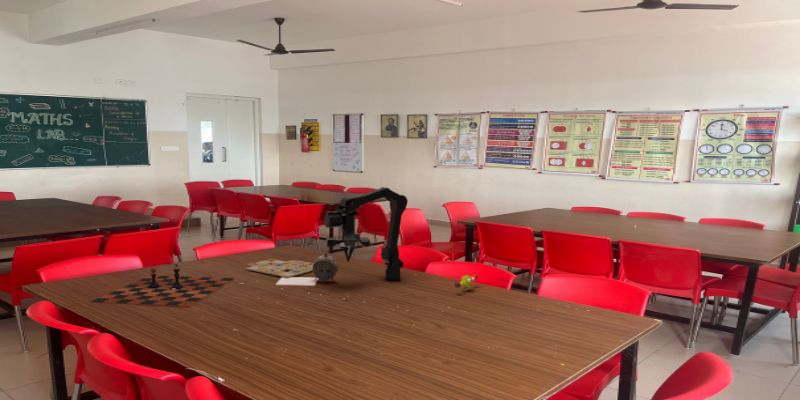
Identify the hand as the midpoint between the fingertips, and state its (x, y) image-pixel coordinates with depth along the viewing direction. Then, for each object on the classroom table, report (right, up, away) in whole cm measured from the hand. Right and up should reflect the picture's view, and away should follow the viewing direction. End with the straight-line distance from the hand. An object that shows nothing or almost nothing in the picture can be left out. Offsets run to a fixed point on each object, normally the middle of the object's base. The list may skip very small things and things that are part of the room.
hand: (348, 261), depth 223 cm
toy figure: (+52, -13, -2) cm, 53 cm away
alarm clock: (-11, -10, +6) cm, 16 cm away
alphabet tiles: (-35, -7, +30) cm, 47 cm away
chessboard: (-74, -12, -10) cm, 76 cm away
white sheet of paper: (-23, -10, +6) cm, 26 cm away
